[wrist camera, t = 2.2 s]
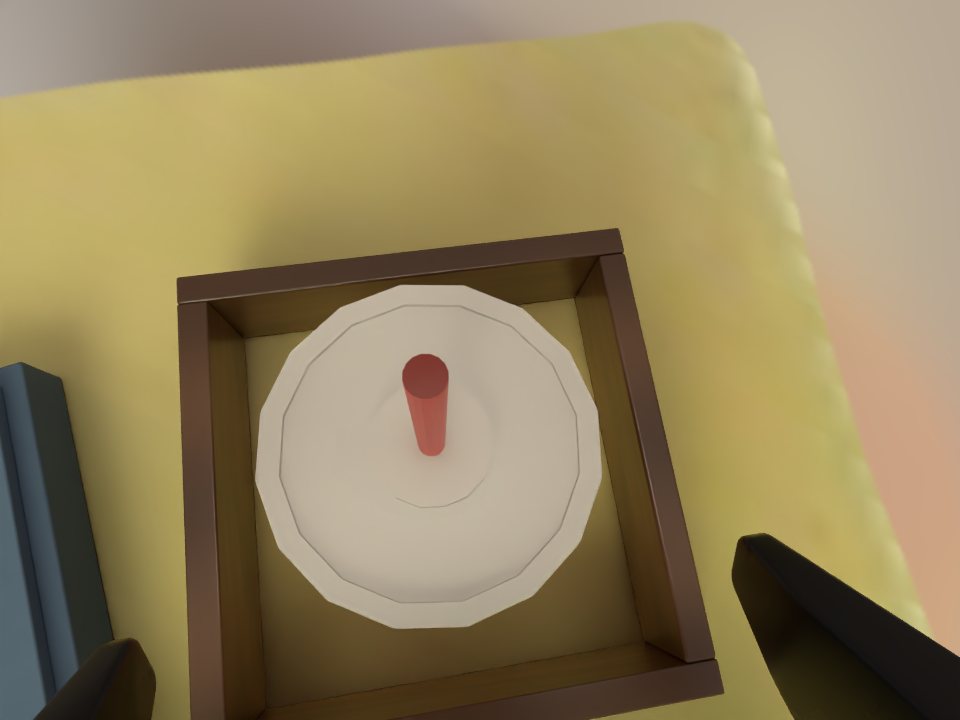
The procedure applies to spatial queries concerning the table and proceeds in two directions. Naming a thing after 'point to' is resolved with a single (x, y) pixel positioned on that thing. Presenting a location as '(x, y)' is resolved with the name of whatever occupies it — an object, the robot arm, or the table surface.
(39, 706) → the blue square platform
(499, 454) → the beverage cup
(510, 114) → the table surface
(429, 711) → the open box
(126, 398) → the table surface
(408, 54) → the table surface
